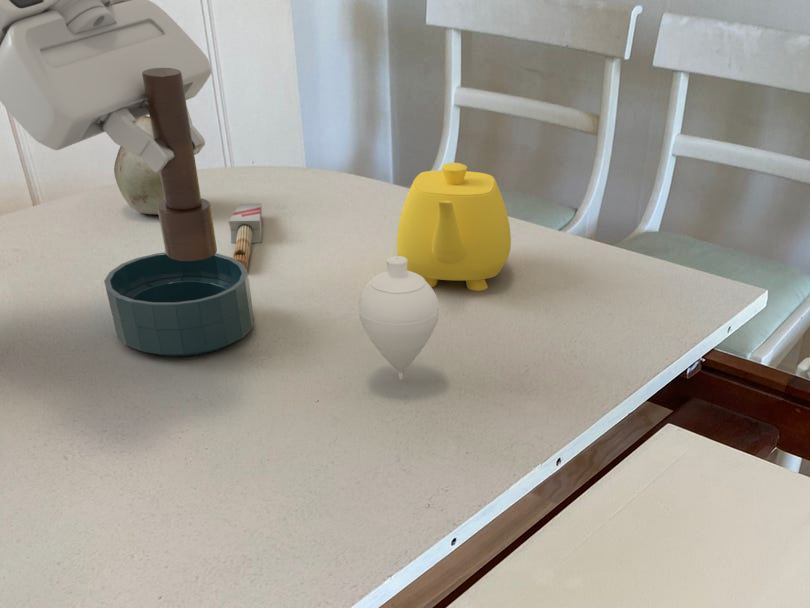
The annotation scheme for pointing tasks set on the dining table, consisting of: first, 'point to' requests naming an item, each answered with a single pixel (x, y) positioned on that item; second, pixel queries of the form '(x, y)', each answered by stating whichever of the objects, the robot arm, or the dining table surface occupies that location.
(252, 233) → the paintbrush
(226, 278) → the bowl
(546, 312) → the dining table surface
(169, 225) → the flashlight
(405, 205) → the teapot
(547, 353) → the dining table surface
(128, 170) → the fruit
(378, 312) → the spinning top
